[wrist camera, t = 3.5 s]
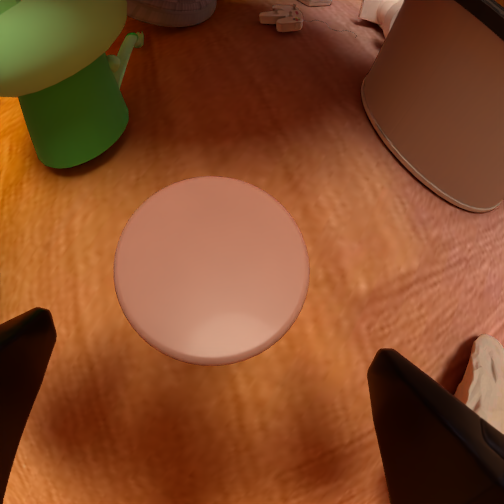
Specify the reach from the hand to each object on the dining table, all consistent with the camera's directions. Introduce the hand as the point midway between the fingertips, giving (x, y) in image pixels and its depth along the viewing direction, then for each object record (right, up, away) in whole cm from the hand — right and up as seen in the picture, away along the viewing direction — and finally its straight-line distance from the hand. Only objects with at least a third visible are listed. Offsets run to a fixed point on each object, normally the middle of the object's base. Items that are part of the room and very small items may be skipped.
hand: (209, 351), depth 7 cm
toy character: (-12, +14, +13) cm, 23 cm away
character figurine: (+20, +28, +17) cm, 38 cm away
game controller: (+8, +28, +20) cm, 35 cm away
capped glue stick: (-1, -2, +8) cm, 8 cm away
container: (+20, +14, +17) cm, 30 cm away
